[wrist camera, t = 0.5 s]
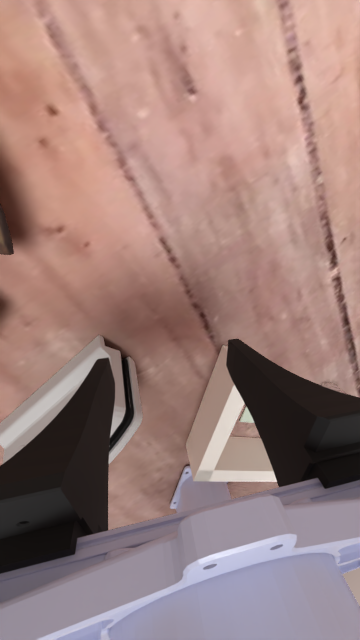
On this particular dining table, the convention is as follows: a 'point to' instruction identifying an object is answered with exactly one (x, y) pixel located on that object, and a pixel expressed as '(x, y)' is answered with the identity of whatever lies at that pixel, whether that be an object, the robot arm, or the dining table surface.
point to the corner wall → (224, 436)
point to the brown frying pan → (5, 235)
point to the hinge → (60, 391)
